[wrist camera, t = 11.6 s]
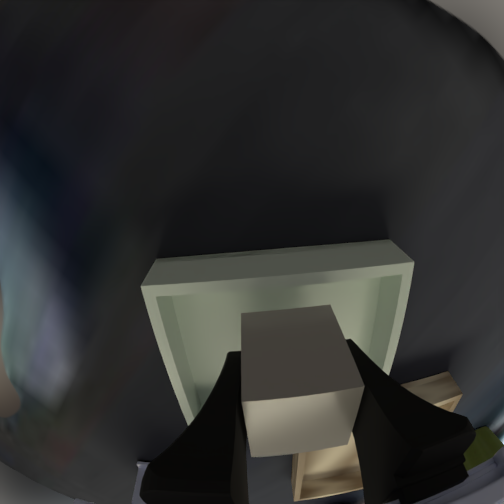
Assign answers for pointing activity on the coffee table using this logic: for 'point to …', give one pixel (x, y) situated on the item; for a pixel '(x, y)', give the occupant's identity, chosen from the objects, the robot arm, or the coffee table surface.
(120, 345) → the coffee table surface
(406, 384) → the birch bin
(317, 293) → the green bin
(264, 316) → the stone
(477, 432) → the plant pot
